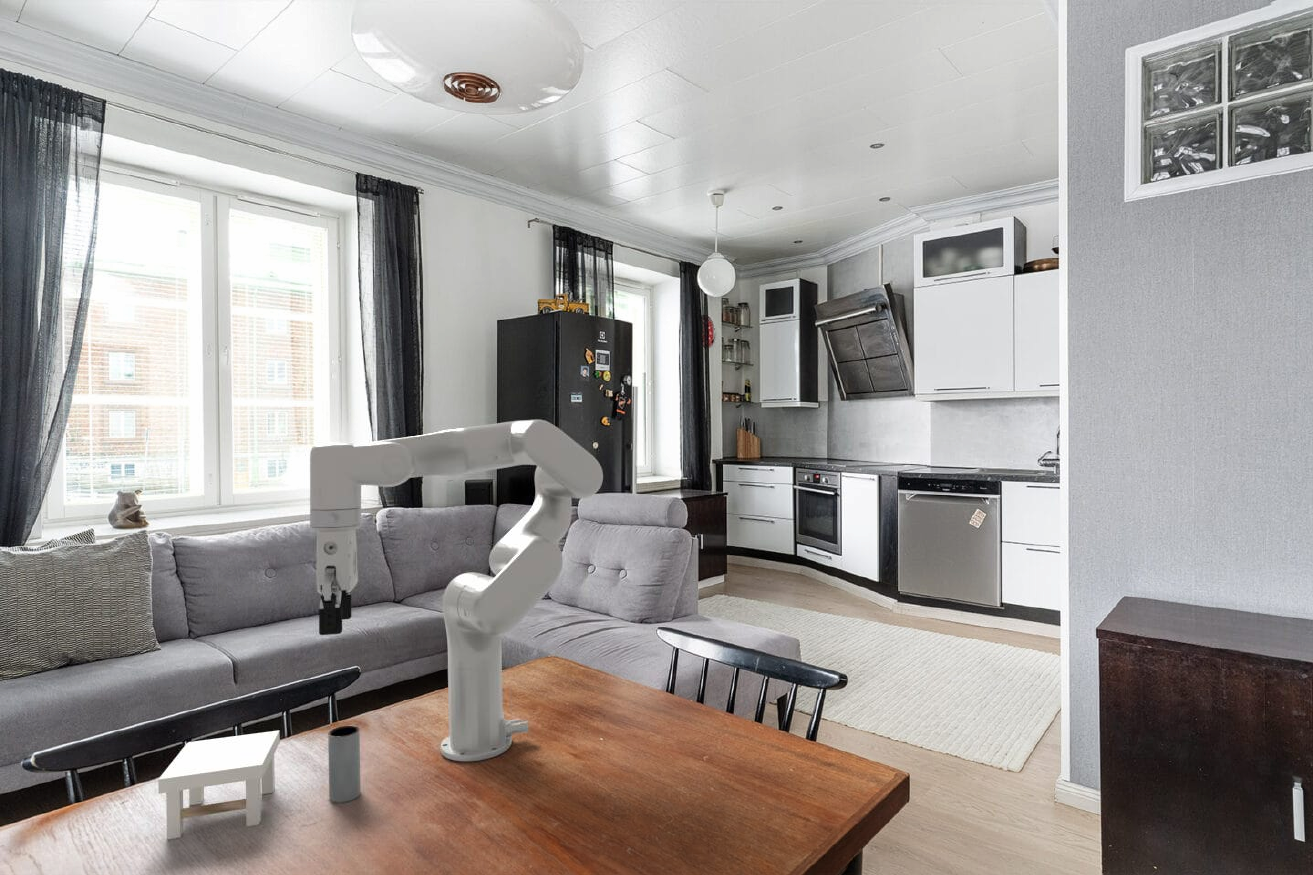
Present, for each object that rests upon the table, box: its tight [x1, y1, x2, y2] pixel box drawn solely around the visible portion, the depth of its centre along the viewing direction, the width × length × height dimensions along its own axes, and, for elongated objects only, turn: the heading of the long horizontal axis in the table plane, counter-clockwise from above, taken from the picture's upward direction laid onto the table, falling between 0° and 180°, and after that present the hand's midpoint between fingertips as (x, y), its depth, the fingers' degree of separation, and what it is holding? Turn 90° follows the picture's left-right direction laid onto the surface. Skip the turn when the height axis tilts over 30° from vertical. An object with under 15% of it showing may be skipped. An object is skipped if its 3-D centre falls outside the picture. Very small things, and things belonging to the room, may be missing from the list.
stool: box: [157, 730, 281, 841], centre depth 108 cm, size 13×13×9 cm
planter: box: [327, 725, 361, 804], centre depth 112 cm, size 4×4×10 cm
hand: (336, 626), depth 114 cm, fingers open, 9 cm apart
